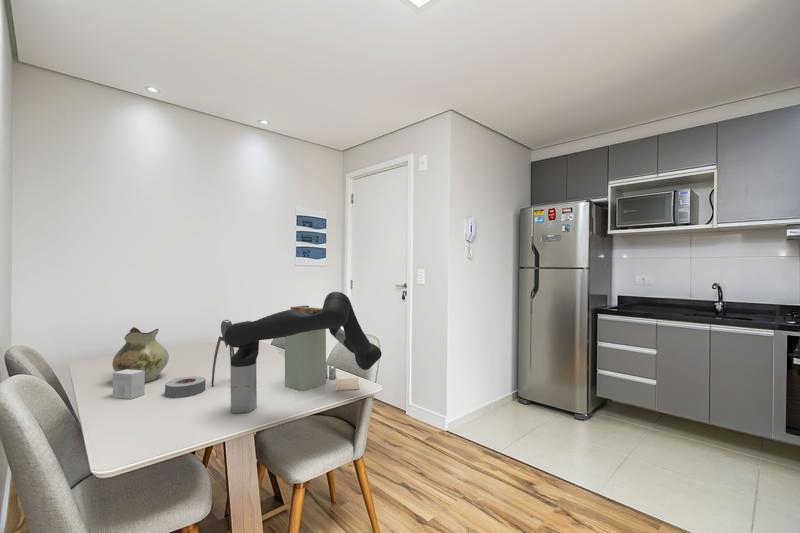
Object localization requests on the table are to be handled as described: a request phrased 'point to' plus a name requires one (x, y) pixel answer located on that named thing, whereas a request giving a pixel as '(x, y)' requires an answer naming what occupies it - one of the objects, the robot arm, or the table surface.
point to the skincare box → (128, 384)
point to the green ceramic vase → (141, 354)
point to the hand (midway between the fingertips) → (320, 311)
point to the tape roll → (184, 387)
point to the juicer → (224, 326)
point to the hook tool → (306, 309)
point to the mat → (347, 384)
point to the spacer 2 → (332, 372)
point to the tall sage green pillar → (305, 360)
